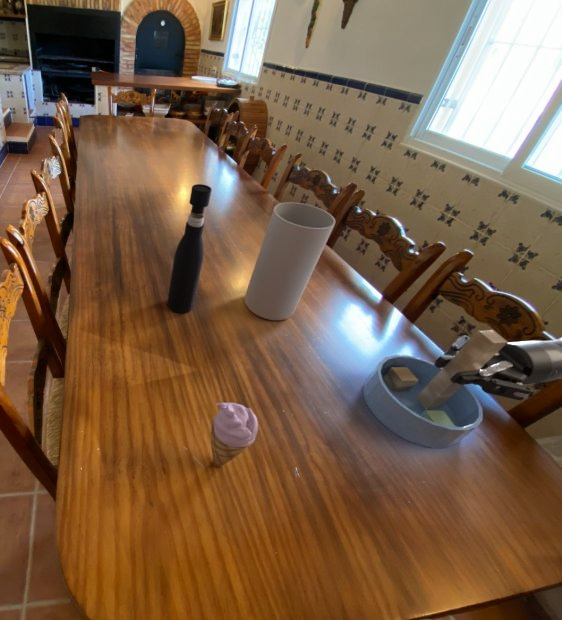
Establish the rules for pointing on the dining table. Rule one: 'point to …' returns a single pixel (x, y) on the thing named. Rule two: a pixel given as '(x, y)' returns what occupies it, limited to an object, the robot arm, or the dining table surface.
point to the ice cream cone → (232, 432)
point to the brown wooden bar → (461, 367)
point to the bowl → (407, 409)
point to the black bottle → (189, 254)
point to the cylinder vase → (287, 259)
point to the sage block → (438, 417)
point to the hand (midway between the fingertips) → (446, 370)
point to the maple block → (400, 379)
